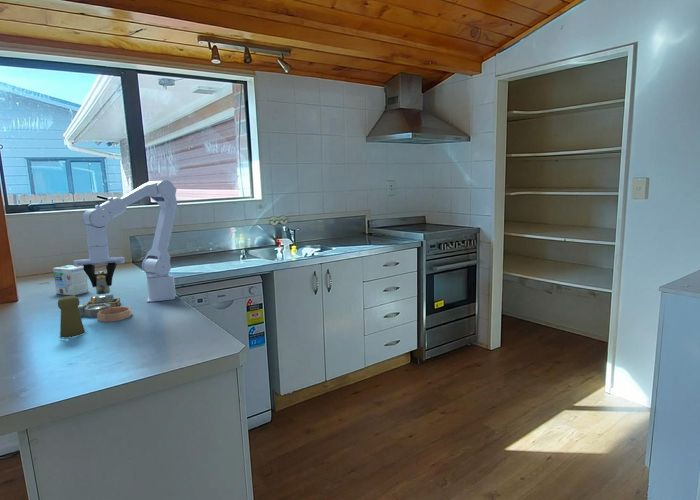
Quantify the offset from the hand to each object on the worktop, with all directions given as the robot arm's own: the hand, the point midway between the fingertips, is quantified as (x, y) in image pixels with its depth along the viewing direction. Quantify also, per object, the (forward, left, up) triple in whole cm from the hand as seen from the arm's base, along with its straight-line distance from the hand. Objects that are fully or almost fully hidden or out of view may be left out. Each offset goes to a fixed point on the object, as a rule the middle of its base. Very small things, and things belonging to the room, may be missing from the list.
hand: (102, 286), depth 142 cm
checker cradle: (+2, +1, -9) cm, 9 cm away
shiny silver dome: (+2, +1, -8) cm, 8 cm away
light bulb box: (+18, -38, -9) cm, 43 cm away
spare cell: (+2, -8, -9) cm, 12 cm away
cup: (-4, +8, -9) cm, 13 cm away
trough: (+2, -8, -9) cm, 12 cm away
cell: (0, 0, -2) cm, 2 cm away
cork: (+5, +21, -9) cm, 23 cm away
